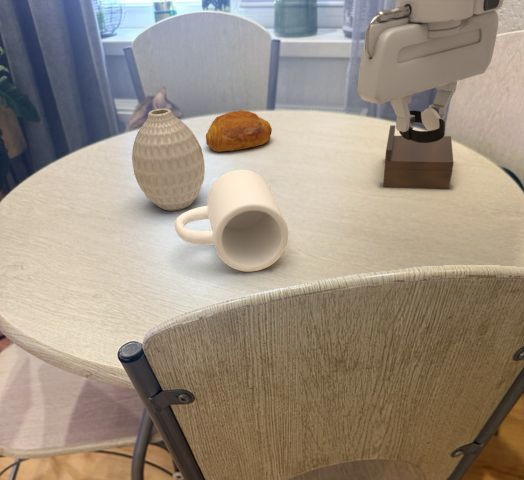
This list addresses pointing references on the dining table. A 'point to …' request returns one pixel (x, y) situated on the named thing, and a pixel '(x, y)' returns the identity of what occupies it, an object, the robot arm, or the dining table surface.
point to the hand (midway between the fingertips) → (420, 124)
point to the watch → (431, 124)
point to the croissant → (237, 131)
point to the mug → (239, 222)
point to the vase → (168, 161)
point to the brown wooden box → (417, 163)
